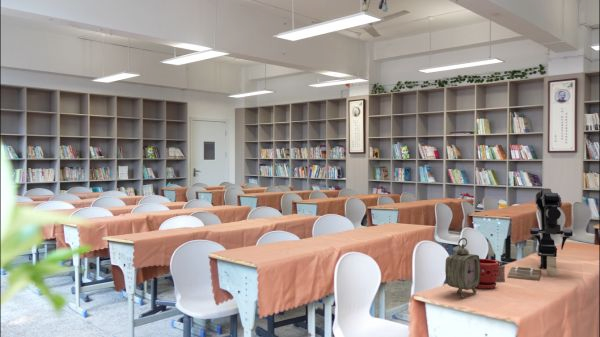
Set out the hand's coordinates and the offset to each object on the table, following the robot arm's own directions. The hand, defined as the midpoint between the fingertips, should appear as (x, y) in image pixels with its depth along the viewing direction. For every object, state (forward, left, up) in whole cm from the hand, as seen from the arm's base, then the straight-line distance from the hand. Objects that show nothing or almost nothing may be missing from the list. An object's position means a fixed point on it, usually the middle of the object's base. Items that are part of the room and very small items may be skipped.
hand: (551, 249), depth 243 cm
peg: (0, 0, -13) cm, 13 cm away
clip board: (+4, -12, -13) cm, 18 cm away
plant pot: (+35, -27, -13) cm, 46 cm away
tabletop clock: (+53, -33, -13) cm, 64 cm away
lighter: (+23, -23, -13) cm, 35 cm away
